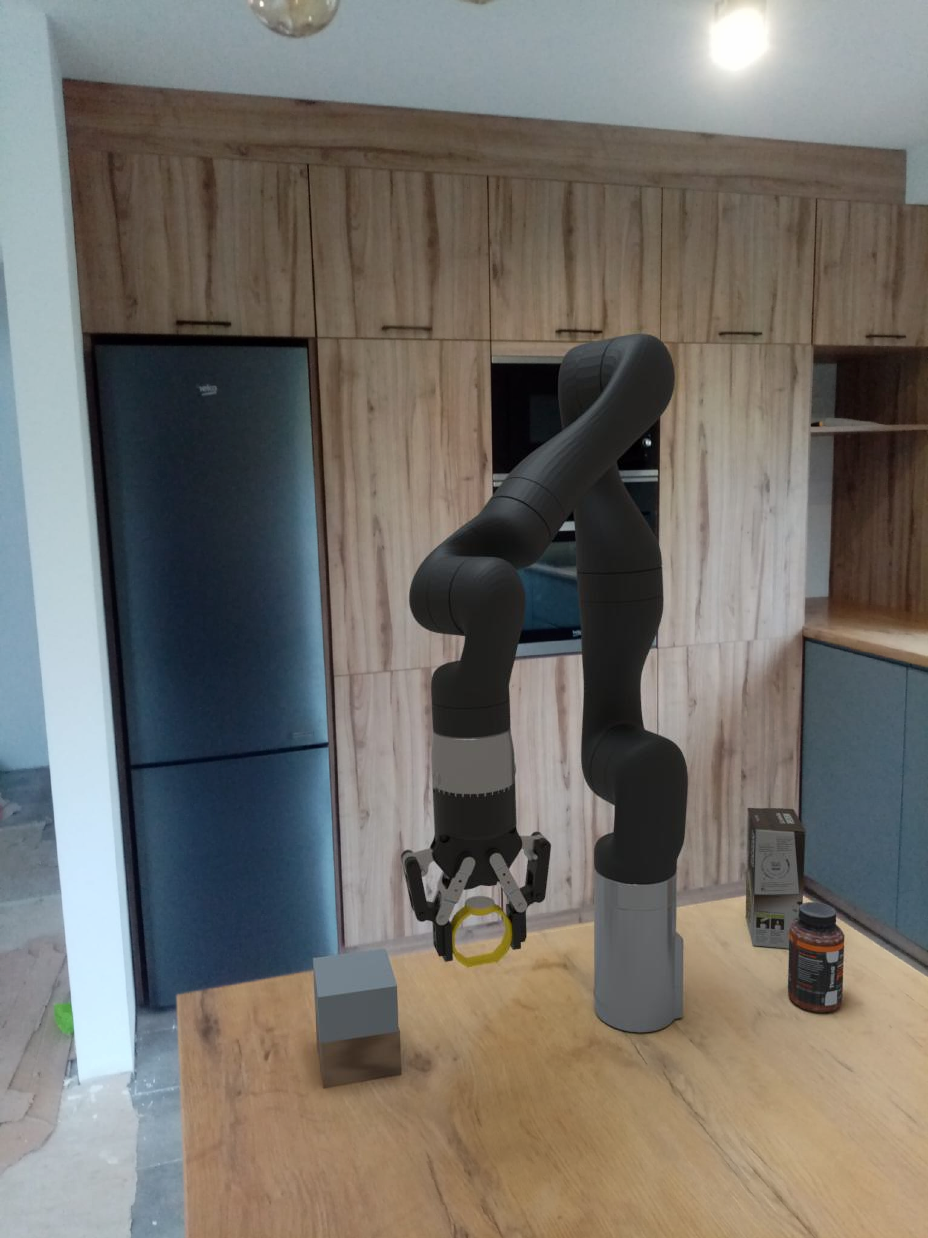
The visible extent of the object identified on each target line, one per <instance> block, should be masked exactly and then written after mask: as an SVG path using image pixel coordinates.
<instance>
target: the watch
mask: <svg viewBox="0 0 928 1238" xmlns="http://www.w3.org/2000/svg"><path fill="white" fill-rule="evenodd" d="M492 913H494V914H495V913H496V914H498V915H500V916H501V917H502V918H503V923H504V934H503V937H502V939H501V942H500V944H498V946H497V947H496V948H495V949H494V950H493V951H492V952H489V953H484V954H478V955H474V956H469V957H466V956H465V955H463V954H461V953H460V952H458V951H457V949H456V946H455V945H456V933H457V931H458V930H459V928H460V927H461V926H460V925H461V924H462V922H463V921H464V920H465V919H467V918H468V917H469V916H470V915H472V916H479V917H480V916H487V915H490V914H492ZM450 923H451V925H452V948H453V957H455V959H456V961H457V962H458V963H460V964H461V965H464V967H466V968H472V967H476V966H482V965H487V964H494V963H495V964H496V963H498V962H500V961H501V959H502V958H503V957H504V956H505V955H506V954H507V953H508V951H509V950H510V948H511V946H510V945H511V942H512V924H511V921H510V920H509V918H508V917H507V915H506V912H504V910H503V909H502V908H501V906H500V905H498V904H496V902H495V900H494V899H493V898H492V897H489V896H485V895H475V896H471V897H468V898H467V899H466V900H465V902H464V906H463V907H461V908H460V909H459V910H458V911H456V912H455V914H454V915H453V916H452V919H451V920H450Z"/></svg>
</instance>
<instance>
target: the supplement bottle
mask: <svg viewBox="0 0 928 1238" xmlns="http://www.w3.org/2000/svg"><path fill="white" fill-rule="evenodd" d="M798 917H799V919H797V920H795V921H794V922H793V923H792V924H791V926H790V932H789V949H788V961H787V962H788V965H787V967H788V970H787V971H788V972H787V994H788V996H789V999H790V1000H791V1001H792V1002H793V1003H794V1004H795V1005H797V1006H798V1007H799V1008H802V1009H804V1010H807V1011H811V1012H814V1013H815V1012H816V1013H830V1012H831V1013H832V1012H834V1011H836V1010H838V1009H840V1007H841V1006H842V1001H843V991H844V990H843V989H844V986H843V983H844V960H845V959H844V957H845V956H844V955H845V933H844V931H843V930H842V929H841V927H840V926H838V925H837V911H836V909H835V908H834V907H832V906H831V905H828V904H826V903H823V902H815V901H812V902H811V901H810V902H809V901H807V902H803V904H801V905H800V906H799V914H798Z"/></svg>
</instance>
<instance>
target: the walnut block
mask: <svg viewBox="0 0 928 1238" xmlns="http://www.w3.org/2000/svg"><path fill="white" fill-rule="evenodd" d="M314 1009H315V1010H314V1011H315V1030H316V1032H315V1034H316V1047H317V1052H318V1061H319V1066H320V1067H319V1068H320V1072H321V1078H322V1079H321V1080H322V1087H323V1089H329V1088H333V1087H334V1088H335V1087H341V1086H346V1085H353V1084H358V1083H363V1082H368V1081H375V1080H380V1079H387V1078H390V1077H396V1076H401V1075H402V1059H401V1058H402V1054H401V1053H402V1052H401V1030H400V1027H399V1026H398V1028H399V1031H398V1032H392V1033H385V1034H379V1035H373V1036H366V1037H360V1038H354V1039H347V1040H341V1041H335V1042H328V1043H322V1044H320V1039H319V1031H318V1023H317V1015H316V1007H315V1006H314Z"/></svg>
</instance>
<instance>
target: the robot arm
mask: <svg viewBox="0 0 928 1238" xmlns="http://www.w3.org/2000/svg"><path fill="white" fill-rule="evenodd" d="M673 361H674V360H673V359H672V356H671V353H670V351H669V350H668V347H667V346H666V344H665V343H664V342H663V341H662V340H661V339H660V338H659V337H657V336H655V335H652V334H648V333H631V334H625V335H620V336H615V337H614V336H613V337H610V338H605V339H600V340H595V341H591V342H586V343H583V344H579V345H578V344H577V345H576V346H573V347H572V348H570V349H569V350H568V352H567V353H566V354H565V355H564V357H563V358H562V361H561V364H560V367H559V372H558V380H557V382H558V383H557V394H558V395H557V396H558V406H559V408H558V409H559V413H560V422H561V428H562V430H561V431H560V432H558V433H557V434H556V435H555V436H553V437H552V438H550V439H549V440H547V441H546V442H544V443H543V444H542V445H540V446H539V447H537V448H536V449H535V450H534V451H532V452H531V453H529V454H528V455H527V456H526V457H525V458H524V459H522V460H521V461H520V462H519V463H518V464H517V465H516V466H515V467H514V468H513V469H512V470H511V471H510V472H509V474H507V476H506V477H505V478H504V479H503V480H502V482H501V483H500V485H499V486H498V488H497V489H496V490H495V492H494V493H493V494H492V496H491V497H490V498H489V499H488V501H487V502H486V504H484V506H483V507H482V509H481V511H480V512H479V513H478V514H477V515H476V516H474V517H473V518H472V519H471V520H468V521H467V522H466V523H464V524H463V525H461V526H460V527H458V529H457V530H456V531H455V532H453V533H452V534H451V535H449V537H447V538H445V540H444V541H442V542H441V543H440V544H438V545H437V547H435V548H434V549H433V550H432V551H431V552H429V554H428V555H427V556H426V557H425V558H424V559H423V561H422V562H421V563H420V564H419V566H418V568H417V570H416V571H415V573H414V575H413V577H412V580H411V584H410V588H409V592H408V593H409V594H408V595H409V596H408V603H409V608H410V613H411V614H412V616H413V618H414V620H415V622H417V624H418V625H419V626H421V627H422V628H424V629H425V630H427V631H429V632H433V633H435V634H442V635H451V636H461V637H464V643H463V648H462V652H461V655H460V657H459V659H458V660H455V661H450V662H446V663H443V664H442V665H440V666H438V667H437V668H436V669H435V670H434V672H433V674H432V676H431V681H430V695H431V696H430V698H431V717H432V722H431V723H432V741H431V753H430V756H431V758H430V759H431V761H430V763H431V781H432V783H431V785H432V787H431V788H432V803H433V805H432V806H433V827H434V836H433V839H432V842H431V844H430V846H429V848H425V849H422V850H417V851H415V852H413V850H411V849H405V850H404V851H402V853H401V855H400V860H401V864H402V868H403V874H404V878H405V883H406V889H407V893H408V898H409V902H410V907H411V909H412V911H413V912H414V915H415V919H416V920H417V921H418V922H420V923H421V922H422V923H423V922H427V921H428V922H429V921H430V922H431V923H432V942H433V947H434V950H435V951H436V953H437V955H438V957H439V958H440V957H442V959H443V961H444V962H445V963H447V962H453V960H454V954H453V948H452V925H451V923H450V922H451V920H450V918H451V915H452V912H453V911H454V908H455V906H456V904H459V901H460V899H461V897H462V894H463V891H467V890H472V889H475V888H477V887H479V886H485V887H492V886H498V884H499V886H500V887H501V889H502V891H503V893H504V894H505V896H506V898H507V900H508V903H505V914H506V915H507V917H508V918H509V920H510V921H511V924H512V942H511V945H510V948H511V949H512V951H516V950H521V949H522V943H525V942H526V940H527V909H528V907H529V906H531V905H533V904H535V903H539V904H540V903H542V902H544V900H546V893H547V887H548V877H549V868H550V867H549V866H550V858H551V851H552V843H551V842H550V841H549V840H548V839H547V838H546V837H545V836H544V835H543V834H542V832H540V831H533V832H532V834H531V835H520V834H519V832H518V829H517V823H518V822H517V800H516V799H517V797H516V793H517V792H516V791H517V790H516V774H517V763H516V762H515V748H514V742H513V737H512V728H511V725H512V724H511V701H510V698H511V696H510V695H511V694H510V681H511V678H512V672H513V668H514V665H515V661H516V656H517V649H518V647H519V642H520V638H521V633H522V629H523V625H524V621H525V616H526V611H527V610H526V607H527V599H526V591H525V590H526V589H525V586H524V583H523V581H522V578H521V576H520V574H519V573H518V570H523V569H527V568H528V567H531V566H533V565H534V564H535V563H536V562H538V560H540V558H541V557H542V556H543V555H544V554H545V552H546V551H547V549H548V548H549V547H550V544H552V541H553V540H555V538H556V536H557V535H558V533H559V532H560V530H561V528H562V527H563V526H564V524H565V523H566V521H567V520H568V518H569V517H570V515H571V514H572V513H573V523H574V534H575V535H574V537H575V556H576V557H575V559H576V560H575V563H576V564H575V565H576V566H575V567H576V568H575V569H576V587H577V598H578V599H577V600H578V601H577V602H578V608H579V609H578V610H579V618H580V619H579V620H580V638H581V640H580V641H581V644H580V645H581V659H582V660H581V662H582V678H583V698H582V699H583V703H582V718H581V719H582V724H581V738H580V739H581V740H580V741H581V745H580V761H581V762H580V764H581V770H582V775H583V778H584V780H585V783H586V785H587V786H588V787H589V789H590V790H591V791H592V793H593V794H595V795H596V796H597V797H599V798H600V799H601V800H603V801H605V802H607V803H609V804H610V805H612V806H614V811H613V812H614V817H613V830H612V832H609V833H607V834H604V835H602V836H600V837H599V838H598V839H597V841H596V842H595V844H594V849H593V904H594V905H593V911H594V912H593V923H594V924H593V929H594V930H593V938H594V939H593V940H594V941H593V943H594V944H593V950H594V953H593V963H594V964H593V968H594V969H593V983H594V984H593V998H594V999H593V1002H594V1003H593V1004H594V1005H593V1006H594V1011H595V1014H596V1016H597V1017H598V1018H600V1020H602V1022H604V1023H605V1024H607V1025H609V1026H610V1027H613V1028H616V1029H619V1030H620V1031H621V1030H622V1031H625V1032H631V1033H651V1032H656V1031H660V1030H662V1029H664V1028H666V1027H667V1026H669V1025H670V1024H672V1022H673V1021H675V1020H676V1019H681V1018H682V1019H683V1016H684V1015H683V1013H684V1008H683V1007H684V1000H683V999H684V945H685V944H684V939H683V936H682V935H681V934H680V933H679V932H677V895H678V894H677V893H678V892H677V889H678V888H677V884H678V883H677V882H678V881H677V880H678V877H677V873H678V872H677V870H678V859H679V856H680V854H681V852H682V849H683V846H684V842H685V837H686V827H687V826H686V824H687V823H686V822H687V810H688V809H687V808H688V807H687V806H688V793H689V792H688V789H689V774H688V766H687V762H686V758H685V755H684V753H683V751H682V750H681V748H680V747H679V745H678V744H676V742H674V741H672V740H671V739H669V738H667V737H665V736H663V735H661V734H657V733H655V732H652V731H651V730H648V729H645V724H644V718H643V710H642V695H641V694H642V692H641V691H642V690H641V689H642V687H641V686H642V675H643V670H644V666H645V664H646V662H647V661H646V660H647V657H648V655H649V653H650V652H651V648H652V646H653V643H654V642H655V638H656V636H657V634H658V631H659V629H660V625H661V622H662V618H663V613H664V600H665V598H664V580H663V579H664V578H663V576H664V575H663V560H662V551H661V548H660V544H659V542H658V539H657V537H656V535H655V534H654V532H653V530H652V528H651V526H650V524H649V523H648V520H646V518H645V516H644V515H643V514H642V512H641V511H640V509H639V507H638V506H637V505H636V502H635V500H633V498H632V496H631V495H630V493H629V491H628V490H627V488H626V486H625V483H624V482H623V481H624V480H623V479H622V477H621V474H620V471H619V467H618V466H619V465H618V462H617V461H618V460H619V459H620V458H621V457H622V456H624V454H625V453H626V452H627V451H628V450H629V449H630V448H631V447H632V445H634V444H635V443H636V442H637V441H638V439H640V438H641V437H642V436H643V435H644V434H645V433H646V432H647V431H648V430H649V429H650V428H651V427H652V426H653V425H654V424H656V422H657V421H658V420H659V419H660V418H661V416H662V415H663V414H664V412H665V411H666V410H667V408H668V406H669V405H670V403H671V399H672V397H673V394H674V390H675V382H676V380H675V379H676V375H675V367H674V362H673ZM521 850H523V855H524V856H525V858H527V862H526V863H527V865H526V872H525V873H526V874H525V881H524V882H525V883H524V886H522V887H520V888H519V885H518V883H517V882H516V880H515V878H514V876H513V874H512V872H511V870H510V868H511V867H512V865H513V863H514V862H515V861H516V858H517V857H518V855H519V854H520V852H521ZM432 862H434V863H435V864H436V865H437V866H438V867H439V869H440V870H441V871H442V872H441V875H440V877H439V880H438V881H437V888H436V891H435V894H434V896H433V899H432V901H429V900H428V901H427V896H426V891H425V887H424V882H423V881H424V880H423V877H425V876H427V874H428V873H429V866H430V864H431V863H432Z"/></svg>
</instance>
